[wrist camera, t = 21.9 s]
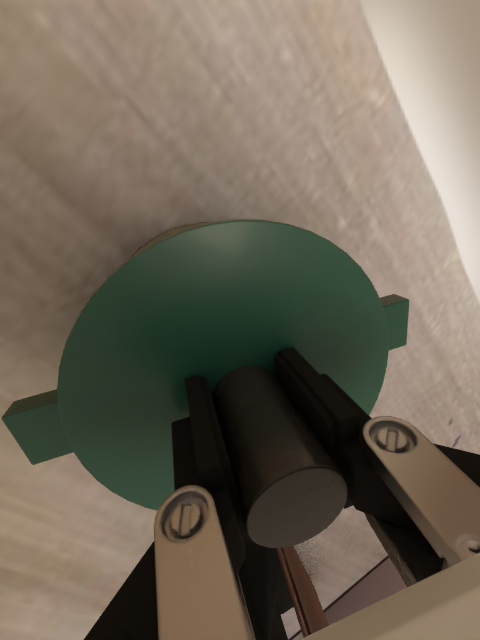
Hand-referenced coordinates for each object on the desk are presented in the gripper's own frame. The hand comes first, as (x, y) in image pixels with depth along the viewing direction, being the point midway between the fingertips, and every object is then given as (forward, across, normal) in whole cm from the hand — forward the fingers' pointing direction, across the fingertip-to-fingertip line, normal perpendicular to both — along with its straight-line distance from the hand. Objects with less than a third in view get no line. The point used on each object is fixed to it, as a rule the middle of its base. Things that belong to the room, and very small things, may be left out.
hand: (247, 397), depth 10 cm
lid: (+1, 0, 0) cm, 1 cm away
